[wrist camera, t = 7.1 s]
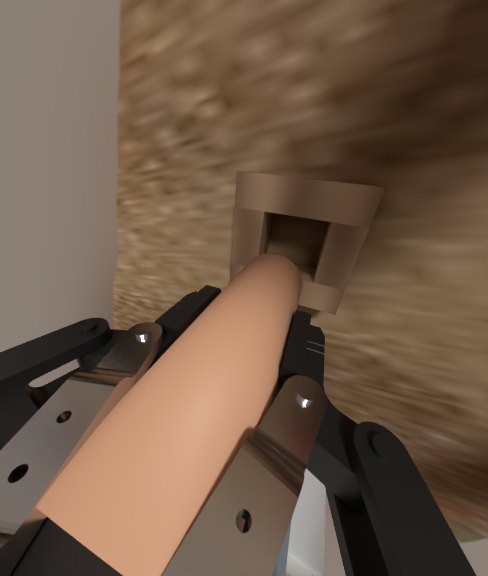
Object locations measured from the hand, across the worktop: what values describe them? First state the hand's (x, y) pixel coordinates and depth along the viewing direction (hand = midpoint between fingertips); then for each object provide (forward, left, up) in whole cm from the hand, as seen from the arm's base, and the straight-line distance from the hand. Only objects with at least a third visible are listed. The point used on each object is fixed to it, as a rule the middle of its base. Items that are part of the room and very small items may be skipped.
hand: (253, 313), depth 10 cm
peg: (0, 0, -4) cm, 4 cm away
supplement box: (-10, +45, -16) cm, 49 cm away
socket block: (0, 0, -15) cm, 15 cm away
